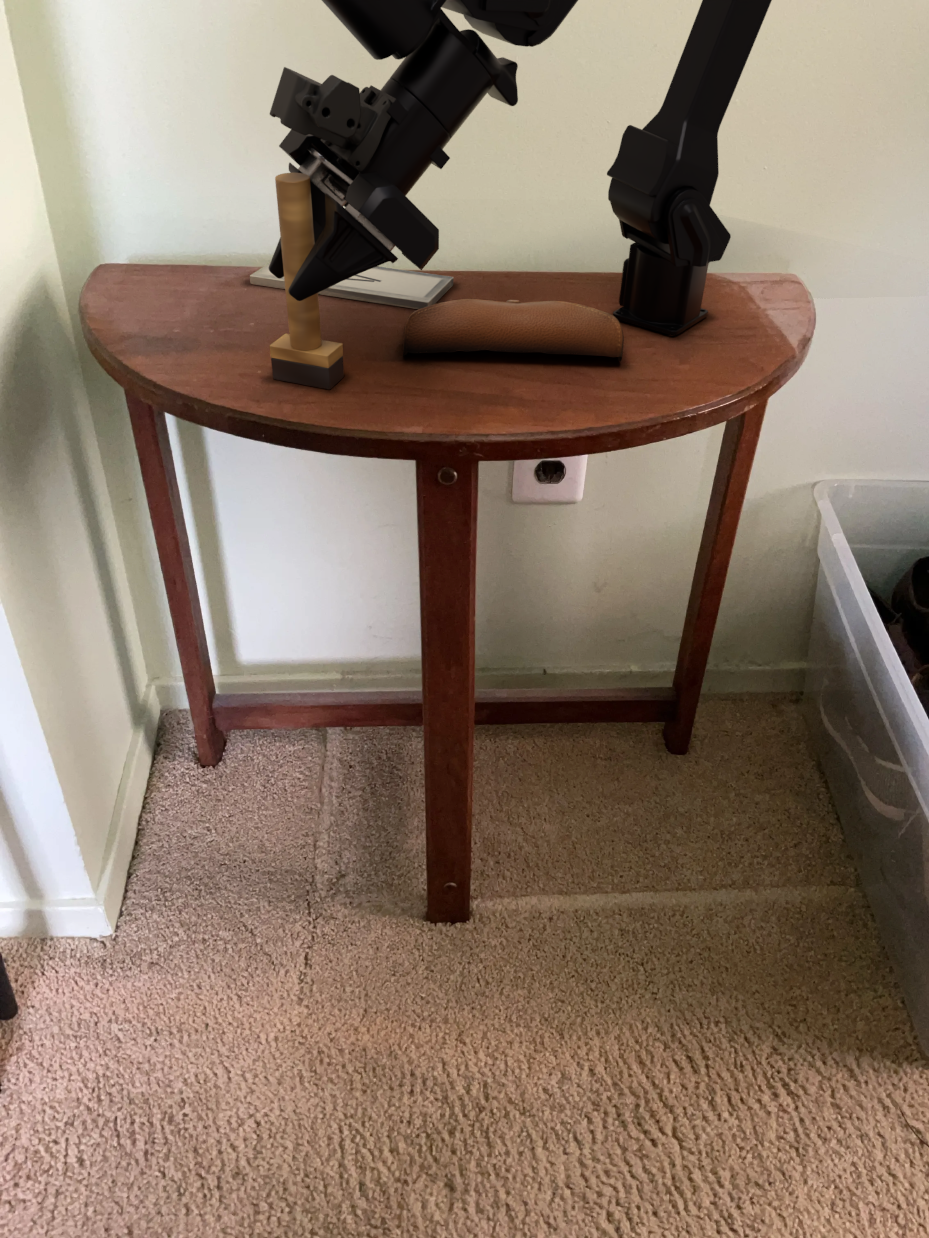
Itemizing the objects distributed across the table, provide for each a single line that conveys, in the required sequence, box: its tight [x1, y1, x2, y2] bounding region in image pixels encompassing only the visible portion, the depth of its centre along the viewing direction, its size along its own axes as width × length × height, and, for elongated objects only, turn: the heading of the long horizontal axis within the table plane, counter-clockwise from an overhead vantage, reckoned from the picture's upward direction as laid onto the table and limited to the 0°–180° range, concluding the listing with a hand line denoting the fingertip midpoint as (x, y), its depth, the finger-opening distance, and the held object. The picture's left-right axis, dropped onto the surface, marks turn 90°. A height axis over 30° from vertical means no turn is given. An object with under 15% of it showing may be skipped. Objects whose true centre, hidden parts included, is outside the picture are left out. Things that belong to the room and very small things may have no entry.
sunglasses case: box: [402, 298, 625, 363], centre depth 83 cm, size 18×7×7 cm, turn 89°
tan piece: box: [269, 172, 345, 391], centre depth 73 cm, size 5×3×15 cm, turn 70°
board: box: [249, 261, 454, 310], centre depth 94 cm, size 18×7×1 cm, turn 71°
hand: (283, 285), depth 73 cm, fingers open, 5 cm apart
